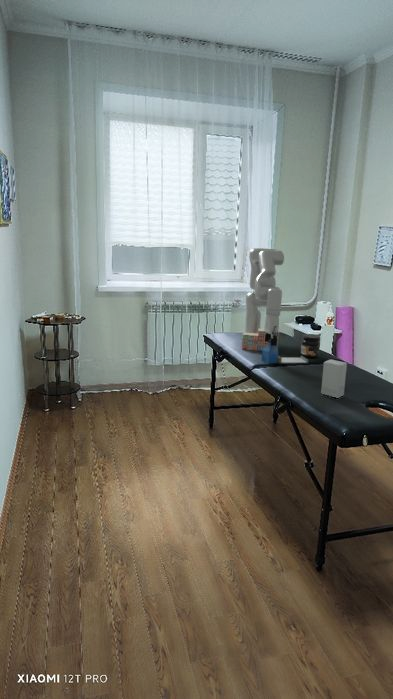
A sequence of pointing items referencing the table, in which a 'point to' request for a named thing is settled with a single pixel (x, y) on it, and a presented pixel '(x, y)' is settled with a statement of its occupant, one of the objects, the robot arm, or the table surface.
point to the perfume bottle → (270, 354)
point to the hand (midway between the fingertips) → (270, 343)
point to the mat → (294, 360)
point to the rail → (279, 359)
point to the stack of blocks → (256, 340)
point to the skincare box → (334, 378)
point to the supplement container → (310, 346)
